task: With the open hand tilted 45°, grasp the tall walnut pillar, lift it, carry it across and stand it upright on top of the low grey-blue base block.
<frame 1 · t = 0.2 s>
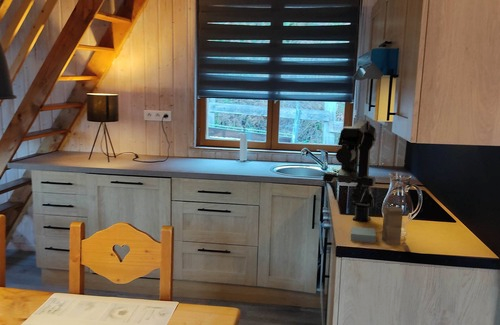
hand: (347, 201, 170), 14 cm above the worktop, tool pointing down, fingers open, 9 cm apart
base block: (362, 238, 173), on the worktop
walnut pillar: (390, 242, 169), on the worktop
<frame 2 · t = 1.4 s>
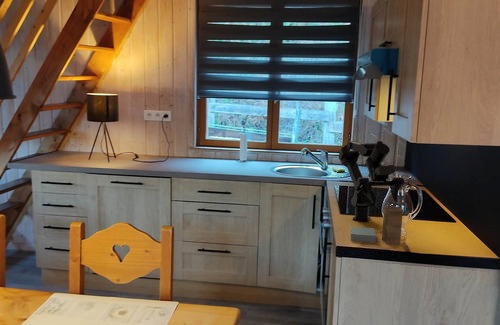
hand: (385, 202, 174), 13 cm above the worktop, tool tilted 45°, fingers open, 9 cm apart
nothing on the worktop moved.
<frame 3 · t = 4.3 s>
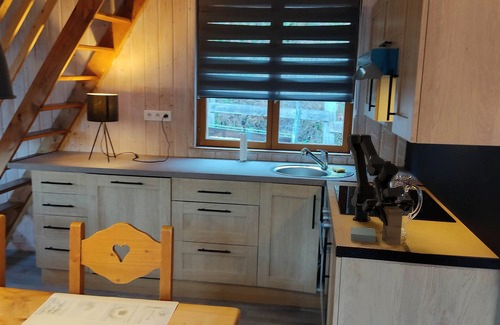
hand: (393, 225, 166), 7 cm above the worktop, tool tilted 45°, fingers closed on walnut pillar, 5 cm apart
walnut pillar: (390, 241, 169), on the worktop, touching gripper
everything else where it was.
when the fingers open (11 cm above the worktop, at t = 8.0 s): walnut pillar drops 1 cm, point 3 cm above the worktop.
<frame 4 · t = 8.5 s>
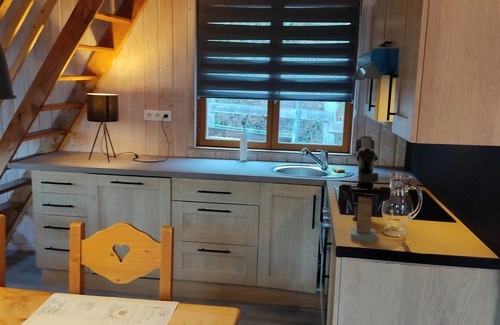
hand: (364, 210, 170), 11 cm above the worktop, tool tilted 45°, fingers open, 9 cm apart
walnut pillar: (363, 230, 173), point 3 cm above the worktop
everything else where it was.
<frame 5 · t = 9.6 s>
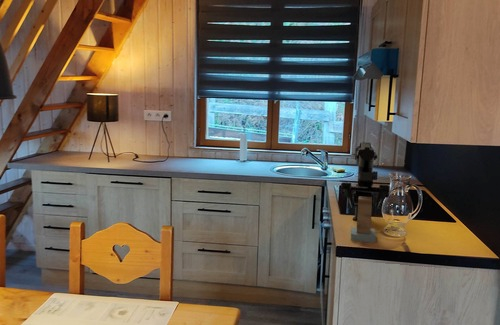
hand: (364, 208, 174), 11 cm above the worktop, tool tilted 45°, fingers open, 9 cm apart
nothing on the worktop moved.
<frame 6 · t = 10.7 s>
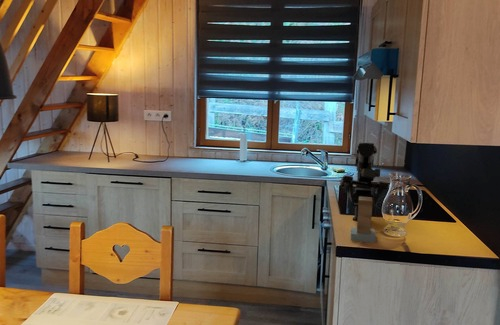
hand: (363, 203, 179), 11 cm above the worktop, tool tilted 40°, fingers open, 9 cm apart
base block: (362, 238, 173), on the worktop, touching walnut pillar
walnut pillar: (363, 231, 173), point 3 cm above the worktop, touching base block
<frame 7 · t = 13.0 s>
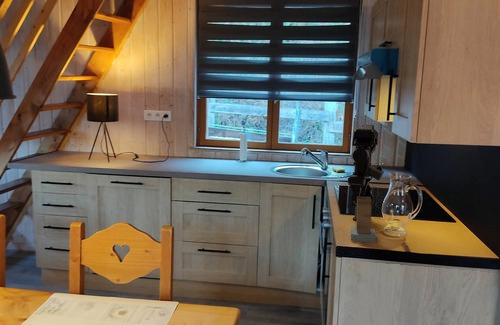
hand: (359, 197, 182), 13 cm above the worktop, tool pointing down, fingers open, 9 cm apart
base block: (362, 238, 173), on the worktop
walnut pillar: (363, 231, 173), point 3 cm above the worktop
at the end: walnut pillar 0.3 cm off-centre on the base block, point 3.2 cm above the base block's base; walnut pillar tilted 3°; the gripper is holding nothing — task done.
